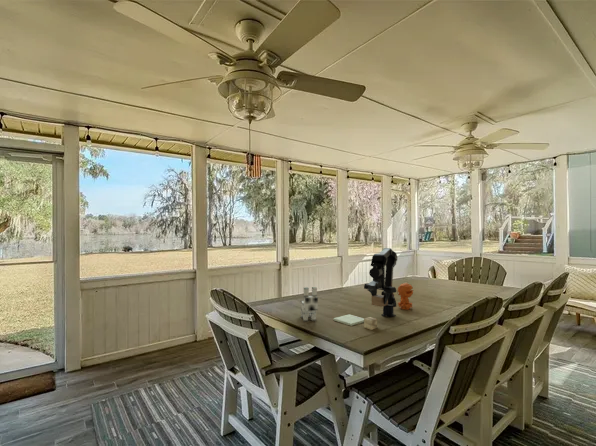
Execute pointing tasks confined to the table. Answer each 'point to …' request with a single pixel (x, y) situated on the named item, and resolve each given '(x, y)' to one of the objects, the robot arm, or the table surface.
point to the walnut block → (378, 300)
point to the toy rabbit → (309, 304)
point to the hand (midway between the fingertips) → (379, 302)
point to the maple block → (370, 323)
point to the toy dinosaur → (405, 296)
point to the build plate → (349, 319)
